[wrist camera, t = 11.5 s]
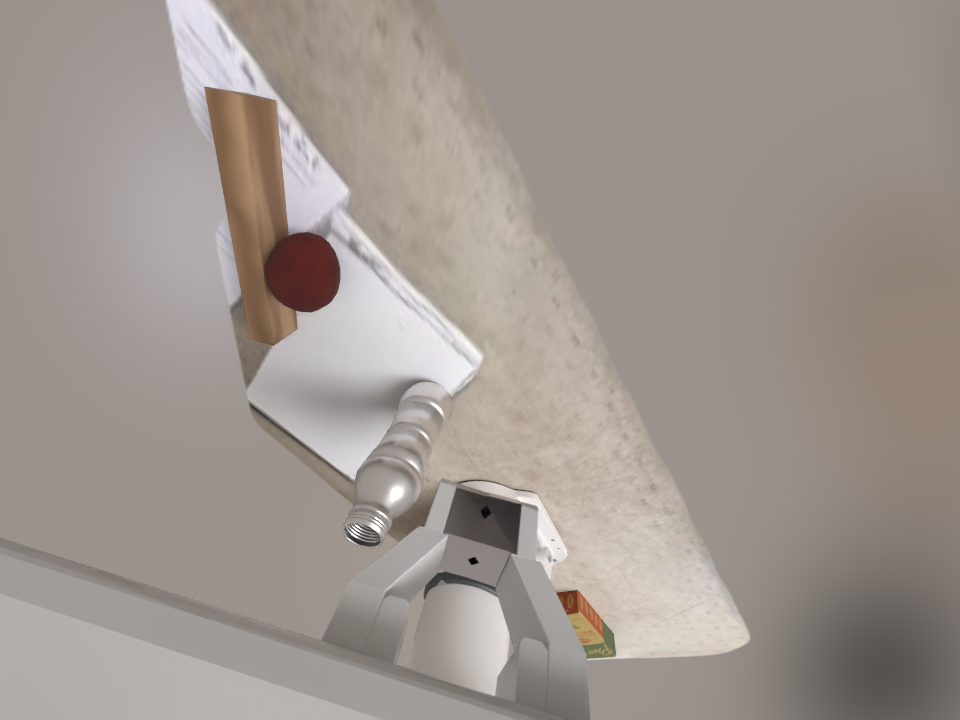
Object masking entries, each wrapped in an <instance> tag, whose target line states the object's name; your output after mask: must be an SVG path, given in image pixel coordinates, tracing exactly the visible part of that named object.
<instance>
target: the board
mask: <svg viewBox="0 0 960 720" xmlns="http://www.w3.org/2000/svg"><path fill="white" fill-rule="evenodd" d="M205 93H206V98H207V104H208V110H209V115H210V121H211V126H212V132H213V137H214V143H215V148H216V154H217V159H218V165H219V170H220V175H221V182H222V187H223V193H224V198H225V204H226V210H227V215H228V221H229V226H230V232H231V237H232V243H233V248H234V254H235V259H236V265H237V271H238V276H239V282H240V287H241V293H242V298H243V304H244V309H245V315H246V321H247V326H248V332H249V337H250V339H252V340H255V341H259V342H262V343H266V344H270V345H273V346H274V345H275V344H277V343H278V342H280V341H281V340H282V339H284V338H285V337H287V336H288V335H289V334H291V333H292V332H294V331H295V330H297V319H296V310H293V309H291V308H288V307H286V306H284V305H283V304H282V303H280V302H279V301H278V300H277V299H276V298H275V297H274V296H273V294H272V293H271V291H270V290H269V288H268V286H267V281H266V272H265V265H266V263H267V260H268V257H269V255H270V253H271V251H272V250H273V248H274V247H275V246H276V244H277V243H278V242H280V241H281V240H283V239H284V238H286V237H288V236H289V235H288V224H287V214H286V203H285V192H284V182H283V171H282V161H281V150H280V140H279V129H278V118H277V108H276V100H272V99H268V98H263V97H259V96H255V95H251V94H247V93H241V92H235V91H229V90H223V89H216V88H210V87H205Z"/></svg>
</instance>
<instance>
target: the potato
mask: <svg viewBox="0 0 960 720" xmlns="http://www.w3.org/2000/svg"><path fill="white" fill-rule="evenodd" d="M265 272H266V281H267V286H268V288H269V290H270V291H271V293H272V294H273V296H274V297H275V298H276V299H277V300H278V301H279V302H280V303H282V304H283V305H284V306H286V307H288V308H291V309H293V310H296V311H300V312H314V311H317V310H319V309H321V308H322V307H324V306H326V305H328V304H329V303H330V302H331V301H332V300H333V298H334V297H335V295H336V294H337V292H338V289H339V284H340V266H339V261H338V258H337V256H336V253H335V251H334V249H333V248H332V247H331V245H330V244H329V242H327V241H326V240H325V239H323V238H322V237H321V236H319V235H316V234H312V233H309V232H305V233H297V234H293V235H290V236H288V237H286V238H284V239H283V240H281V241H280V242H278V243H277V244H276V246H275V247H274V248H273V250H272V251H271V253H270V255H269V257H268V260H267V263H266V265H265Z"/></svg>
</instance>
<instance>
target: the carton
mask: <svg viewBox="0 0 960 720" xmlns="http://www.w3.org/2000/svg"><path fill="white" fill-rule="evenodd" d="M557 596H558V598H559V600H560V602H561V604H562V606H563V608H564V610H565V612H566V614H567V616H568V618H569V620H570V622H571V624H572V626H573V628H574V630H575V632H576V634H577V636H578V638H579V640H580V642H581V644H582V646H583V648H584V650H585V652H586V655H587V659H588V658H603V657H615V656H616V649H615V641H614V634H613V633H612V631H611V630H610V629H609V628H608V627H607V625H606V624H605V623H604V622H603V620H602V619H601V618H600V617H599V615H598V614H597V613H596V612H595V610H594V609H593V608H592V607H591V606H590V604H589V603H588V602H587V601H586V599H585V598H584V597H583V596H582V595H581V593H580V592H579V591H578V590H576V591H569V592H561V593H557Z"/></svg>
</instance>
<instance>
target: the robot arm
mask: <svg viewBox="0 0 960 720" xmlns="http://www.w3.org/2000/svg"><path fill="white" fill-rule="evenodd" d="M457 484H458V485H457ZM566 557H567V548H566V547H565V545H564V543H563V541H562V539H561V537H560V535H559V534H558V532H557V530H556V528H555V526H554V524H553V523H552V521H551V519H550V517H549V515H548V513H547V512H546V510H545V508H544V506H543V504H542V502H541V501H540V499H539V497H538V496H537V495H536V494H534V493H531V492H526V491H516V490H513V489H510V488H507V487H505V486H502V485H499V484H496V483H491V482H485V481H471V482H465V483H461V484H459V483H456V482H452V481H449V480H446V479H441V481H440V483H439V485H438V488H437V491H436V494H435V497H434V500H433V503H432V505H431V508H430V511H429V514H428V517H427V520H426V523H425V525H424V527H422V526H418V527H417V528H416V529H414V530H413V531H412V532H411V533H409V534H408V535H407V536H406V537H404V538H403V539H402V540H401V541H399V542H398V543H397V544H395V545H394V546H393V547H392V548H391V549H389V550H388V551H387V552H385V553H384V554H383V555H382V556H380V557H379V558H378V559H376V560H375V561H374V562H373V563H372V564H370V565H369V566H368V567H366V568H365V569H364V570H363V571H361V572H360V573H359V574H357V575H356V576H355V577H354V578H353V579H351V580H350V582H349V584H348V586H347V588H346V590H345V592H344V594H343V596H342V598H341V600H340V602H339V605H338V606H337V609H336V611H335V613H334V615H333V617H332V619H331V621H330V623H329V625H328V627H327V629H326V631H325V634H324V636H323V638H322V640H319V639H315V638H312V637H309V636H306V635H303V634H300V633H297V632H294V631H291V630H288V629H284V628H281V627H278V626H275V625H272V624H269V623H266V622H263V621H259V620H256V619H253V618H250V617H247V616H244V615H241V614H238V613H234V612H231V611H228V610H225V609H222V608H219V607H216V606H212V605H209V604H206V603H203V602H200V601H197V600H194V599H190V598H188V597H185V596H181V595H178V594H175V593H172V592H169V591H166V590H163V589H160V588H156V587H153V586H150V585H147V584H144V583H141V582H137V581H134V580H132V579H128V578H125V577H122V576H119V575H116V574H113V573H110V572H107V571H103V570H100V569H97V568H94V567H91V566H87V565H85V564H81V563H78V562H75V561H72V560H69V559H65V558H63V557H59V556H56V555H53V554H50V553H47V552H43V551H40V550H37V549H34V548H31V547H28V546H25V545H22V544H19V543H16V542H13V541H10V540H7V539H4V538H1V537H0V720H590V709H589V692H588V676H587V675H588V673H587V655H586V652H585V650H584V648H583V646H582V644H581V642H580V640H579V638H578V636H577V634H576V632H575V630H574V628H573V626H572V624H571V622H570V620H569V618H568V616H567V614H566V612H565V610H564V608H563V606H562V604H561V602H560V600H559V598H558V596H557V593H556V591H555V589H554V587H553V585H552V583H551V581H550V579H551V573H552V566H555V565H557V564H559V563H560V562H562V561H563V560H564V559H565V558H566ZM424 587H425V591H424V599H425V602H424V605H423V609H422V612H421V615H420V619H419V622H418V626H417V629H416V633H415V636H414V639H413V643H412V646H411V649H410V653H409V656H408V660H407V663H406V667H403V666H400V665H397V662H398V658H399V655H400V652H401V648H402V644H403V639H404V634H405V629H406V624H407V619H408V614H409V609H410V606H409V604H408V603H409V602H410V601H411V600H412V599H413V598H414V597H415V596H416V595H417V594H418V593H419V592H420V591H421V590H422V589H423V588H424ZM509 637H510V638H511V641H512V644H513V647H514V652H513V654H512V655H511V657H510V658H509V660H508V661H507V659H508V648H509Z"/></svg>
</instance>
